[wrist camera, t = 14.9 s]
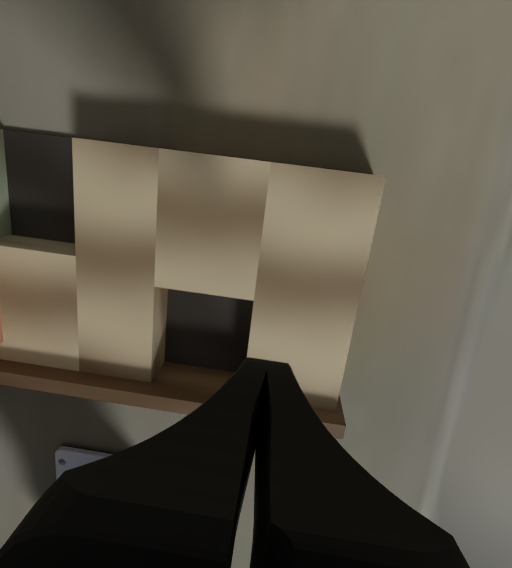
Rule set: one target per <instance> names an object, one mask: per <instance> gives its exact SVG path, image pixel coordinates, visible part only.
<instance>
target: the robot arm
mask: <svg viewBox="0 0 512 568" xmlns="http://www.w3.org/2000/svg"><path fill="white" fill-rule="evenodd" d="M255 448H256V449H255ZM254 453H255V492H254V528H253V543H252V552H251V561H250V568H470V567H469V565H468V563H467V561H466V560H465V558H464V556H463V554H462V552H461V551H460V549H459V547H458V545H457V543H456V541H455V539H454V538H453V536H452V535H450V534H449V533H448V532H446V531H445V530H443V529H441V528H440V527H439V526H437V525H436V524H434V523H433V522H431V521H430V520H429V519H427V518H426V517H424V516H423V515H421V514H420V513H418V512H417V511H415V510H414V509H413V508H411V507H410V506H408V505H407V504H406V503H404V502H403V501H402V500H400V499H399V498H398V497H397V496H395V495H394V494H393V493H392V492H390V491H389V490H388V489H387V488H385V487H384V486H383V485H382V484H381V483H379V482H378V481H377V480H376V479H375V478H374V477H372V476H371V475H370V474H369V473H368V472H367V471H366V470H365V469H364V468H363V467H362V466H361V465H360V464H359V463H358V462H356V461H355V460H354V459H353V458H352V457H351V456H350V455H349V454H348V453H347V452H346V450H345V449H344V448H343V447H342V446H341V445H340V444H339V443H338V442H337V440H336V439H335V438H334V437H333V436H332V435H331V433H330V432H329V431H328V430H327V428H326V427H325V426H324V424H323V423H322V421H321V420H320V419H319V417H318V416H317V414H316V413H315V411H314V410H313V408H312V407H311V405H310V403H309V402H308V400H307V398H306V397H305V395H304V393H303V391H302V389H301V388H300V386H299V384H298V382H297V380H296V378H295V376H294V373H293V371H292V368H291V366H290V365H289V364H288V363H284V362H277V361H270V360H264V359H257V358H250V357H247V358H246V359H244V360H243V362H242V363H241V365H240V366H239V367H238V369H237V370H236V371H235V372H234V373H233V375H232V376H231V377H230V378H229V379H228V380H227V381H226V382H225V383H224V384H223V385H222V386H221V387H220V388H219V389H218V390H217V391H216V392H215V393H214V394H213V395H212V396H211V397H210V398H208V399H207V400H206V401H205V402H204V403H203V404H202V405H200V406H199V407H198V408H197V409H195V410H194V411H193V412H191V413H190V414H189V415H187V416H186V417H184V418H183V419H182V420H180V421H179V422H177V423H176V424H174V425H172V426H171V427H169V428H167V429H165V430H164V431H162V432H160V433H158V434H157V435H155V436H153V437H151V438H149V439H147V440H145V441H143V442H141V443H139V444H137V445H135V446H132V447H130V448H128V449H125V450H123V451H121V452H118V453H116V454H108V453H102V452H96V451H90V450H84V449H78V448H72V447H66V446H61V447H59V448H58V450H57V451H56V452H55V465H56V481H55V482H54V483H53V484H52V485H51V486H50V487H49V488H48V489H47V490H46V491H45V493H44V494H43V495H42V496H41V497H40V499H39V500H38V501H37V502H36V503H35V504H34V506H33V507H32V508H31V510H30V511H29V512H28V514H27V515H26V516H25V518H24V519H23V520H22V521H21V523H20V524H19V525H18V527H17V528H16V529H15V531H14V532H13V533H12V535H11V536H10V537H9V539H8V540H7V541H6V542H5V544H4V545H3V546H2V548H1V549H0V568H231V562H232V555H233V549H234V542H235V536H236V531H237V526H238V520H239V516H240V512H241V508H242V504H243V499H244V495H245V491H246V487H247V482H248V478H249V474H250V470H251V466H252V461H253V457H254Z"/></svg>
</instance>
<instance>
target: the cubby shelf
mask: <svg viewBox="0 0 512 568" xmlns="http://www.w3.org/2000/svg"><path fill="white" fill-rule="evenodd" d="M385 180H386V176H380V175H372V174H364V173H356V172H347V171H339V170H331V169H323V168H315V167H307V166H299V165H291V164H283V163H275V162H267V161H259V160H250V159H242V158H234V157H226V156H218V155H210V154H202V153H194V152H186V151H178V150H170V149H161V148H153V147H145V146H137V145H129V144H121V143H113V142H105V141H97V140H89V139H81V138H69V137H61V136H52V135H44V134H36V133H28V132H20V131H12V130H4V129H0V311H1V321H2V332H3V342H2V343H0V385H5V386H11V387H17V388H24V389H30V390H36V391H43V392H49V393H55V394H61V395H68V396H74V397H80V398H87V399H93V400H99V401H106V402H112V403H118V404H124V405H131V406H137V407H143V408H150V409H156V410H162V411H169V412H175V413H181V414H188V415H189V414H190V413H191V412H193V411H194V410H195V409H197V408H198V407H199V406H200V405H202V404H203V403H204V402H205V401H206V400H207V399H208V398H210V397H211V396H212V395H213V394H214V393H215V392H216V391H217V390H218V389H219V388H220V387H221V386H222V385H223V384H224V383H225V382H226V381H227V380H228V379H229V378H230V377H231V376H232V375H233V373H234V372H235V371H236V370H237V369H238V367H239V366H240V365H241V363H242V362H243V360H244V359H246V358H247V357H250V358H257V359H264V360H270V361H277V362H284V363H288V364H289V365H290V366H291V368H292V371H293V373H294V376H295V378H296V380H297V382H298V384H299V386H300V388H301V389H302V391H303V393H304V395H305V397H306V398H307V400H308V402H309V403H310V405H311V407H312V408H313V410H314V411H315V413H316V414H317V416H318V417H319V419H320V420H321V421H322V423H323V424H324V426H325V427H326V428H327V430H328V431H329V432H330V433H331V435H332V436H333V437H334V438H339V439H343V437H344V432H345V428H346V424H345V420H344V415H343V410H342V406H341V401H340V396H339V392H340V387H341V383H342V378H343V374H344V369H345V364H346V360H347V355H348V351H349V346H350V341H351V337H352V332H353V328H354V323H355V318H356V314H357V309H358V305H359V300H360V295H361V291H362V286H363V281H364V277H365V272H366V268H367V263H368V258H369V254H370V249H371V245H372V240H373V235H374V231H375V226H376V222H377V217H378V212H379V208H380V203H381V199H382V194H383V189H384V185H385Z"/></svg>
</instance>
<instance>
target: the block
mask: <svg viewBox="0 0 512 568" xmlns="http://www.w3.org/2000/svg"><path fill="white" fill-rule="evenodd" d="M2 342H3V332H2V321H1V311H0V343H2Z"/></svg>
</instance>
